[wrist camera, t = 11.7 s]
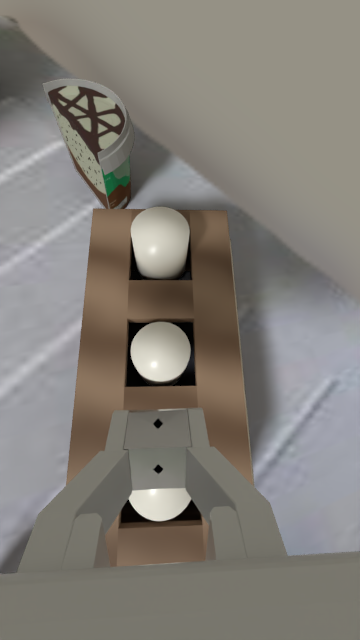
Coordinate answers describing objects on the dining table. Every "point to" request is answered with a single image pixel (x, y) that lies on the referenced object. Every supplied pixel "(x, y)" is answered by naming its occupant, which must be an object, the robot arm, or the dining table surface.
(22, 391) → the dining table surface
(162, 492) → the white egg
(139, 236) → the white rounded cylinder
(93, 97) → the food container
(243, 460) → the wooden peg block
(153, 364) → the white rounded cylinder
